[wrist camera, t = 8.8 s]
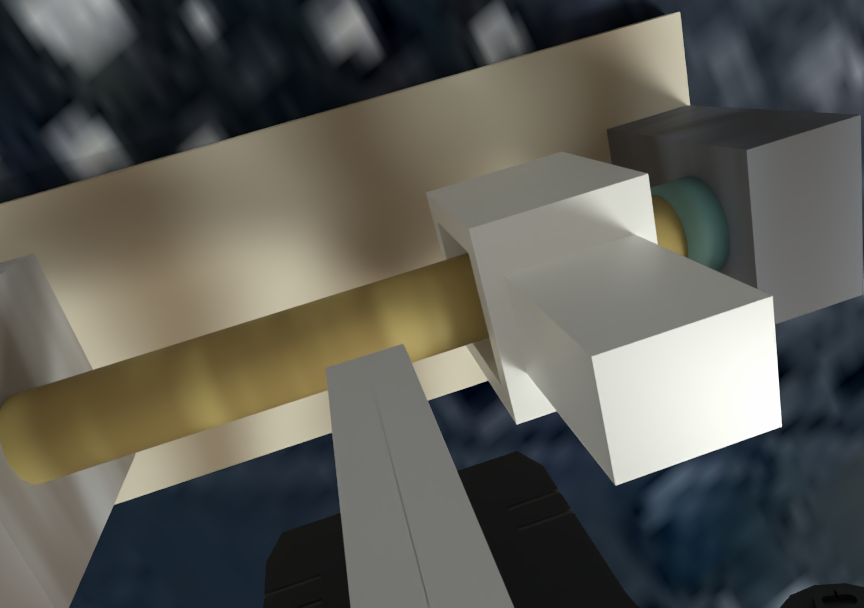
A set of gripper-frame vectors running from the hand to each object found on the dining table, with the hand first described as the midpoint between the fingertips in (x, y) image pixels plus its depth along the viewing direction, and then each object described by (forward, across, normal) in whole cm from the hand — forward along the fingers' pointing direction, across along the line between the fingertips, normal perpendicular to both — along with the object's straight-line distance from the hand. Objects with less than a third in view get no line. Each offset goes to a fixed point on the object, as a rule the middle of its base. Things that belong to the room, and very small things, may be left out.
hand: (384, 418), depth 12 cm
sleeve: (+7, +5, 0) cm, 8 cm away
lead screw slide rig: (+10, +1, 0) cm, 10 cm away
